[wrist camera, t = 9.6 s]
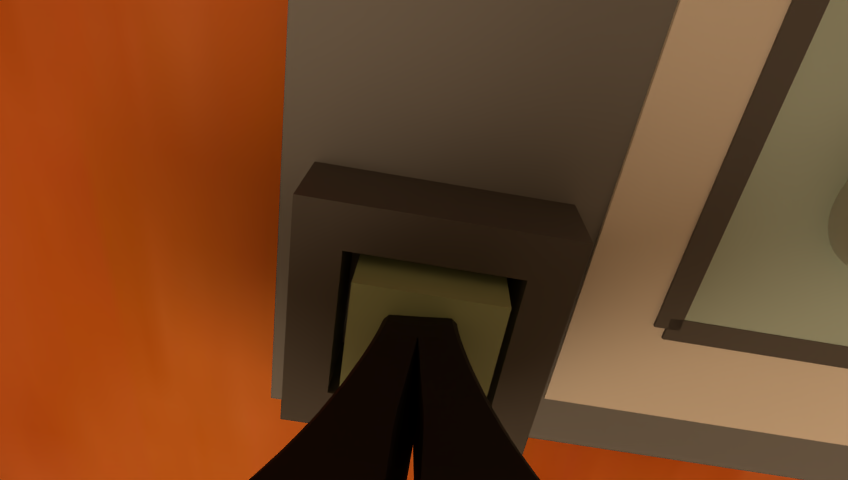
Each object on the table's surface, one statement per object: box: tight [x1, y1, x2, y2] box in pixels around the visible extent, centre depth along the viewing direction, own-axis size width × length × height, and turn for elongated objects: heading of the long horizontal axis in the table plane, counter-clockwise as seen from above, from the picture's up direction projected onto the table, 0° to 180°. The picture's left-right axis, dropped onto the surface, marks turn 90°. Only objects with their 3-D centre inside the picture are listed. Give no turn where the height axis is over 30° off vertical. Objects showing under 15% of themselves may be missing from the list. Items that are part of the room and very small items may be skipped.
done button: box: [339, 254, 511, 397], centre depth 12 cm, size 3×3×2 cm
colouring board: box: [271, 0, 848, 480], centre depth 11 cm, size 20×18×3 cm
